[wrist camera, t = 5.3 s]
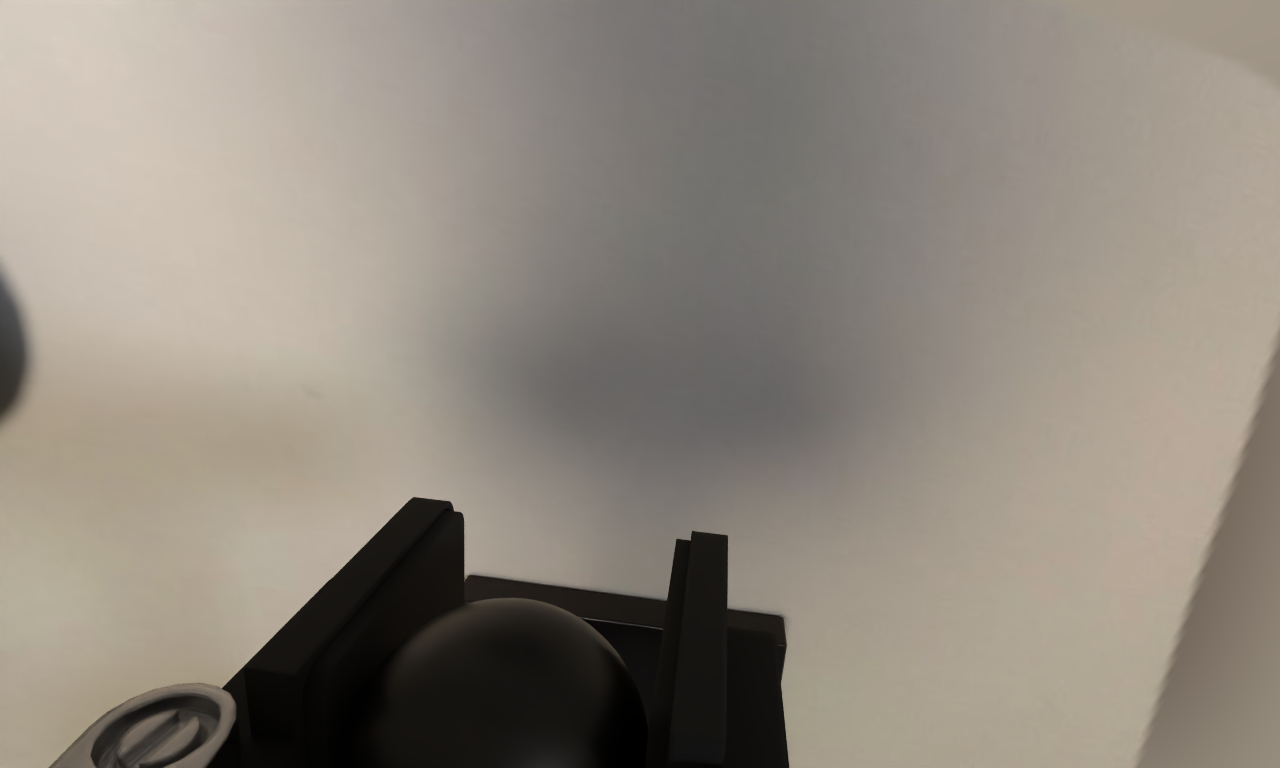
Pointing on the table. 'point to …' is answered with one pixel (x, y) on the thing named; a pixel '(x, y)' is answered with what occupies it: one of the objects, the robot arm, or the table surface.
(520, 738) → the lever
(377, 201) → the table surface
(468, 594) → the bracket
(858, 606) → the table surface
